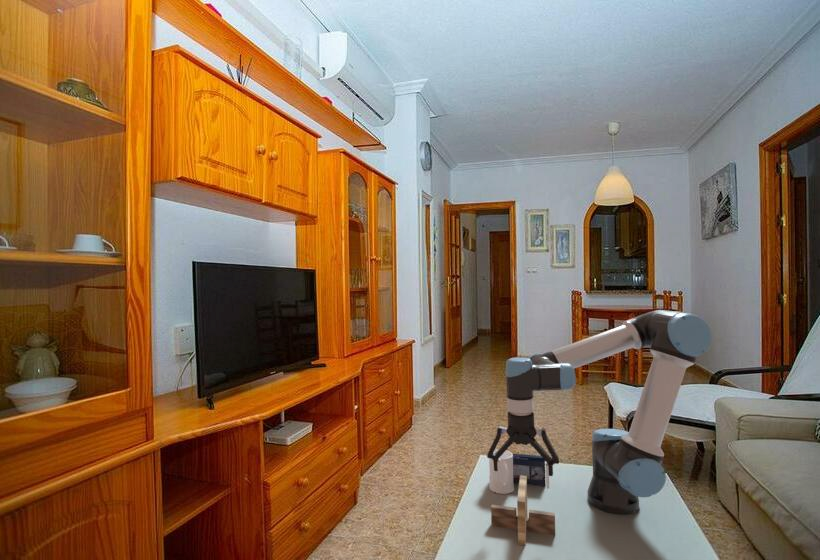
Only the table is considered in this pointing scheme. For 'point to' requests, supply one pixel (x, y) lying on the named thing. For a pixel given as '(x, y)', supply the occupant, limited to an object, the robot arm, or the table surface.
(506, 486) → the mug
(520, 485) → the cross plate
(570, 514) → the table surface
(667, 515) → the table surface
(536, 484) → the vhs cassette tape
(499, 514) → the standing plate
